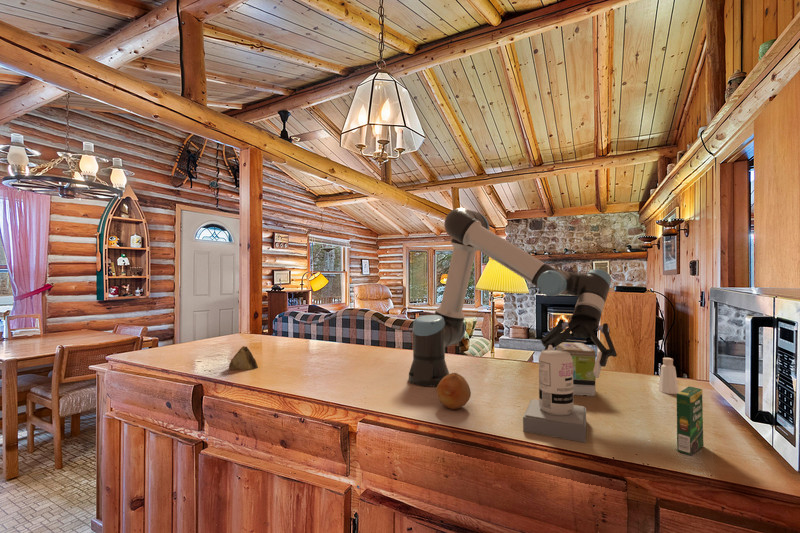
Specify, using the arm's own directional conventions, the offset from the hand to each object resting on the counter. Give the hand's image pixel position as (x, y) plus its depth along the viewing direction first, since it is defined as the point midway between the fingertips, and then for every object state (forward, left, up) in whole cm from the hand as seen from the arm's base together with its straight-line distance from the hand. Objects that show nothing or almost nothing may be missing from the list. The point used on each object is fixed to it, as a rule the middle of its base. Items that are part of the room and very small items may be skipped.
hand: (569, 370), depth 103 cm
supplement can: (-3, -9, -9) cm, 13 cm away
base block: (-3, -9, -13) cm, 16 cm away
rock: (-125, -4, -13) cm, 126 cm away
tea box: (0, +27, -13) cm, 30 cm away
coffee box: (+25, -9, -13) cm, 29 cm away
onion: (-31, -8, -13) cm, 34 cm away
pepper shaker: (+28, +37, -13) cm, 48 cm away
